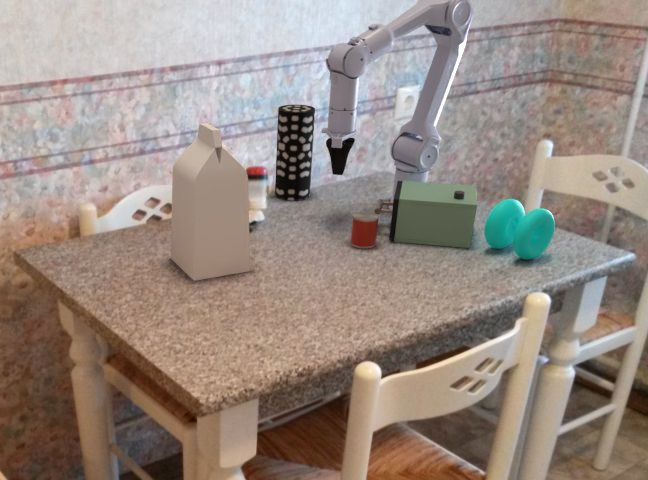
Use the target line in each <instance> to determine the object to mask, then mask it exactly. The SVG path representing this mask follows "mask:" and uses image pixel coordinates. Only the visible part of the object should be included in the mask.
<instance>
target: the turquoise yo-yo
mask: <svg viewBox="0 0 648 480" xmlns="http://www.w3.org/2000/svg"><path fill="white" fill-rule="evenodd" d="M555 227H556V221H555V217H554V214H553V213H552V212H551V211H550V210H548V209H547V208H542V207H541V208H540V207H538V208H534V209H532V210H531V211H529V212H527V213H526V211H525V207H524V206H523V204H522V203H521V202H520V201H519V200H518V199H516V198H515V199H514V198H506V199H503V200H501V201H500V202H498V203H497V204H496V205H495V206H494V207H493V208H492V209H491V211H490V212H489V213H488V216H487V217H486V220H485V224H484V229H483V230H484V231H483V232H484V233H483V234H484V239H485V241H486V243H487V244H488V246H490V247H491V248H493V249H496V250H497V249H498V250H501V249H505V248H507V247H509V246H511V245H512V246H513V250H514V252H515V254H516V256H518V257H519V258H520V259H523V260H529V261H530V260H533V259H536V258H538V257H539V256H541V255H542V254H543V253H544V252H545V251H546V250H547V248H548V247H549V245H550V243H551V241H552V240H553V237H554V234H555V230H556V229H555Z"/></svg>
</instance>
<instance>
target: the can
mask: <svg viewBox="0 0 648 480" xmlns="http://www.w3.org/2000/svg"><path fill="white" fill-rule="evenodd" d="M379 218H380V215H377V214H375V212H371V211H358V212H354V213H352V222H351V226H352V227H351V236H350V246H352V247H353V248H357V249H362V250H364V249H365V250H366V249H367V250H368V249H372V248H375V247H376V245H377V236H378V235H377V234H378V226H379V225H378V224H379Z"/></svg>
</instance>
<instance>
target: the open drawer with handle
mask: <svg viewBox="0 0 648 480" xmlns="http://www.w3.org/2000/svg"><path fill="white" fill-rule="evenodd" d="M401 188H402V181H398V182H397V186H396V191H395V195H394V201H393V202H390V201H387V200H384V199H382V198H378V199H377V200H376V204H375V207H374V212H373V213H375V214H377V215H378V216H380V215H381V214H390V215H391V219H390V227H389V234H388V235H389V236H388V239H390V240H394V238H395V230H396V222H397V213H398V205H399V198H400V193H401ZM384 206H387V207H389V206H393V209H392V210H391V209H389V208H383V207H384Z"/></svg>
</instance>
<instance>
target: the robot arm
mask: <svg viewBox="0 0 648 480" xmlns="http://www.w3.org/2000/svg"><path fill="white" fill-rule="evenodd" d="M474 16H475V11H474V8H473V6H472V2H471V0H417V2H416V3H415V4H414V5H412V6H411V7H410V8H408V9H407V10H406V11H404V12H403V13H401V14H400V15H398V16H397V17H396V18H394V19H393V20H392V21H390V22H389V23H388V24H386V25H384V24H382V23H377V24H376V23H372V24H370V25H368V26H367V30H366V31H364V32H362V33H360V34H359V35H357V36H352V37H351V38H349V41H348V42H347V43H337V44H336V45H334V47H332V48H331V50H330V51H329V54H328V56H327V57H328V58H327V57H326V59H325V66H326V68H327V70H328V71H329V80H330V88H329V89H330V90H329V103H328V117H327V127H322V128H321V134H326V135H327V136H328V138H327V139H326V141H325V145H326V148H327V150H328V154H329V157H330V165H331V173H332V175H335V176H343V175H344V173H345V170H346V165H347V162H348V157H349V155H350V152H351V149H352V148H353V146H354V144H355V142H356V138H354V137H355V136H356V135H357V129H356V128H357V117H358V106H359V96H360V95H359V93H360V81H361V76H363V75H364V74H365V72H366V71H367V69H368V66H369V65H370V64H371V63H373V62H374V61H376V60H377V59H380V58H381V57H383V56H384V55H386V54H388V53H389V52H390V51H391V50H392V49H393V47H394V43H395V42H396V41H397V40H399V39H401V38H403V37H405V36H406V35H408V34H411V33H412V32H414V31H416V30H418V29H419V28H422V27H423V26H424V27H425V28H426V30H427V31H428V32H429V34H430V35H432V37H433V38H434V41H435V44H436V46H437V47H436V49H435V52H434V55H433V57H432V60H431V63H430V67H429V68H428V72H427V75H426V78H425V81H424V83H423V86H422V89H421V91H420V94H419V97H418V101H417V103H416V106H415V109H414V111H413V114H412V117H411V120H409V121H408V122H407V123H405V124H403V125H402V126H401V127H400V129H399V132H398V134H397V135H396V137H394V139H393V141H392V143H391V146H390V151H389V152H390V157H391V158H392V160H393V161H394V162H393V163H394V164H393V165H394V166H395V171H394V172H395V173H394V181H393V182H394V183H393V188H392V195H391V197H390V201H389V202H393V201H394V195H395V191H396V186H397V182H398V181H402V183H403V181H416V182H428V180H429V179H428V178H429V177H428V176H429V172H430V171H432V168H433V167H434V166H435V165H436V163H437V162H438V159H439V156H440V155H439V154H440V145H441V142H442V137H441V135H440V133H439V131H438V129H437V125H438V123H439V119H440V117H441V114H442V112H443V108H444V106H445V103H446V100H447V97H448V95H449V92H450V89H451V86H452V84H453V81H454V78H455V75H456V73H457V70H458V67H459V64H460V62H461V59H462V56H463V53H464V51H465V49H466V45H467V40H468V33H469V29H470V27H471V25H472V22H473V18H474ZM419 137H420V138H419ZM388 209H391V210H392V209H393V206H388Z"/></svg>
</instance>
